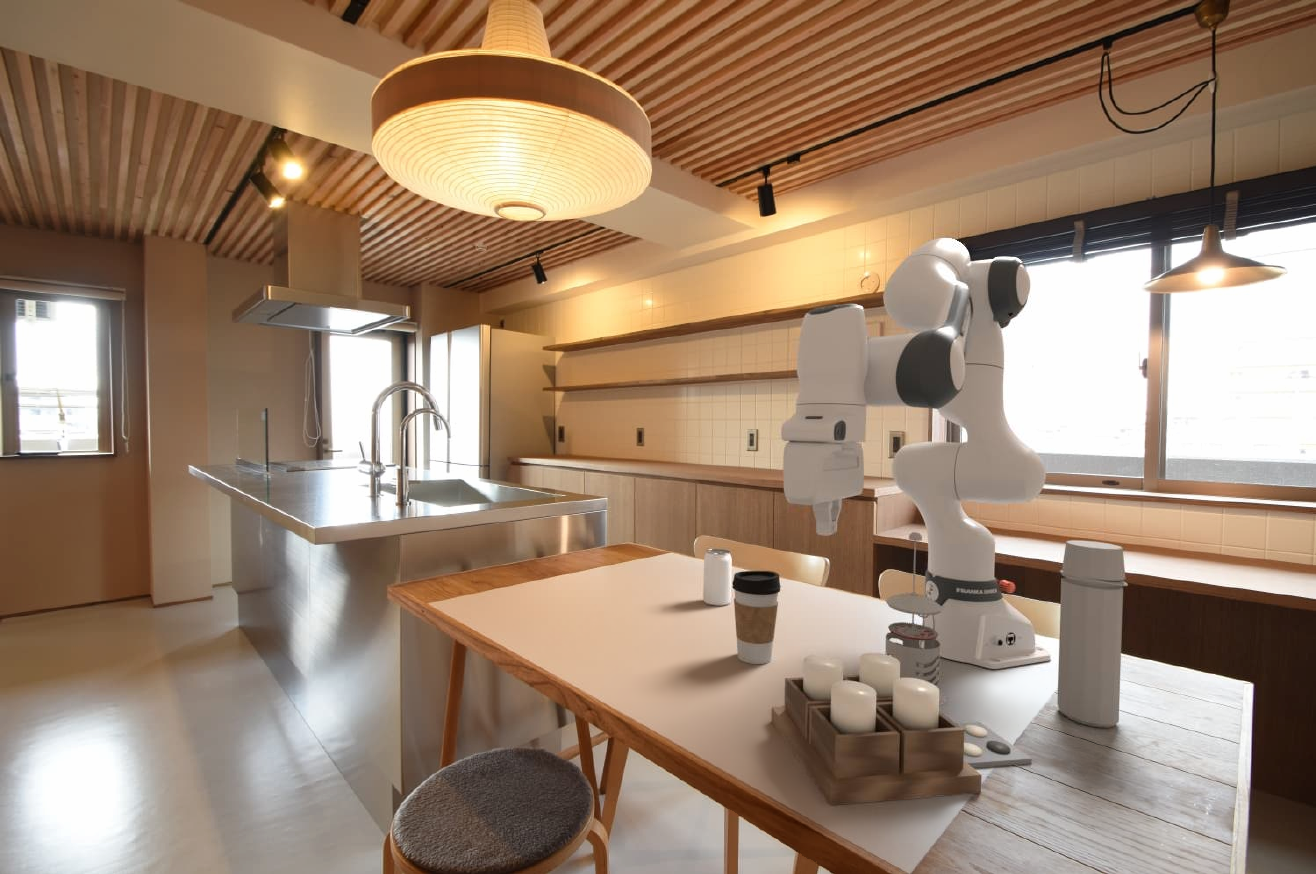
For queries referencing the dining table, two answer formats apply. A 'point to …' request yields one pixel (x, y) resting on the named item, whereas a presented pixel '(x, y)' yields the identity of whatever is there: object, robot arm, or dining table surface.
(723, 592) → the can
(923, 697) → the button
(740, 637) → the coffee cup
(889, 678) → the button
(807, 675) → the button
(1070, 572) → the water bottle
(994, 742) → the pattern card
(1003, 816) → the dining table surface
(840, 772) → the button board
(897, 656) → the french press
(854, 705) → the button
